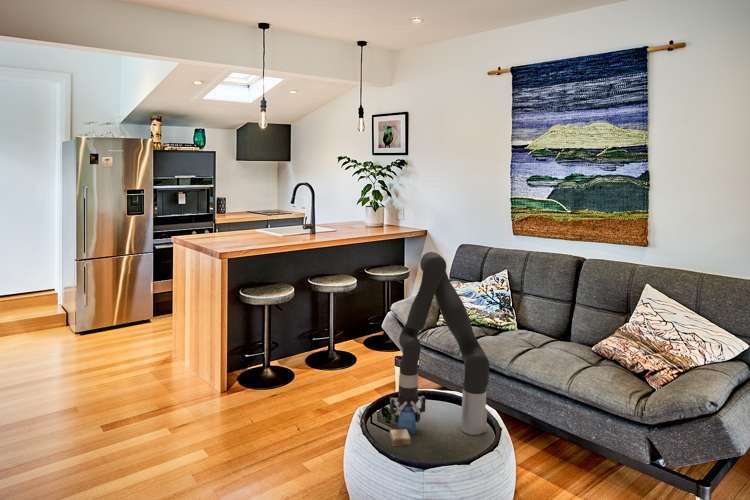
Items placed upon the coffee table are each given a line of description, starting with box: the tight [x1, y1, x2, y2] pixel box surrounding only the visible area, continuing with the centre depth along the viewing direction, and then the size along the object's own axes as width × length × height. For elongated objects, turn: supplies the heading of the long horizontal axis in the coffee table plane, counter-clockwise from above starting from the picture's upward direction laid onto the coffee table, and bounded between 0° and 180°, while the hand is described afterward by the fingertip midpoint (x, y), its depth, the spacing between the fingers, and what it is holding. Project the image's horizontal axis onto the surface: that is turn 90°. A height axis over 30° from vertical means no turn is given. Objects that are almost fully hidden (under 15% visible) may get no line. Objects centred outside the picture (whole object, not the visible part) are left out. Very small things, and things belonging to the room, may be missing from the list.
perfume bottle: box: [397, 403, 417, 436], centre depth 215 cm, size 6×6×12 cm
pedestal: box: [388, 429, 412, 447], centre depth 208 cm, size 7×7×3 cm
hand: (407, 421), depth 215 cm, fingers closed on perfume bottle, 7 cm apart
